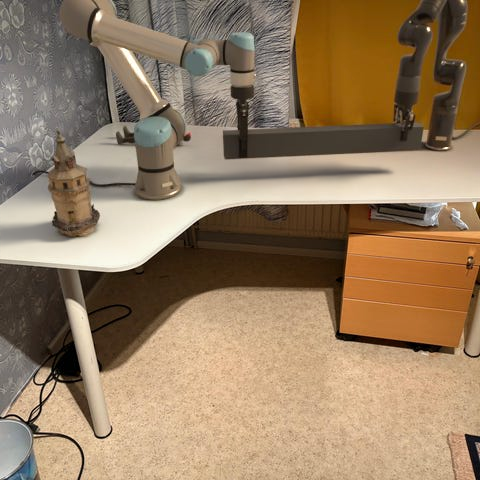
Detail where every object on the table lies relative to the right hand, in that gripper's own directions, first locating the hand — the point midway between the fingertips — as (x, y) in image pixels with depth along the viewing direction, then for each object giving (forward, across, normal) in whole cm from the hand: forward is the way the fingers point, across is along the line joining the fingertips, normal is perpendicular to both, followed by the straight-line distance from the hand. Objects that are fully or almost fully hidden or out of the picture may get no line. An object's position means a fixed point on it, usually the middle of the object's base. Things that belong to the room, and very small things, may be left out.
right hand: (400, 138), depth 184 cm
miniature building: (+12, -31, +106) cm, 111 cm away
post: (+4, 0, +27) cm, 27 cm away
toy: (+12, +42, +86) cm, 97 cm away
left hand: (+3, 0, +55) cm, 55 cm away
